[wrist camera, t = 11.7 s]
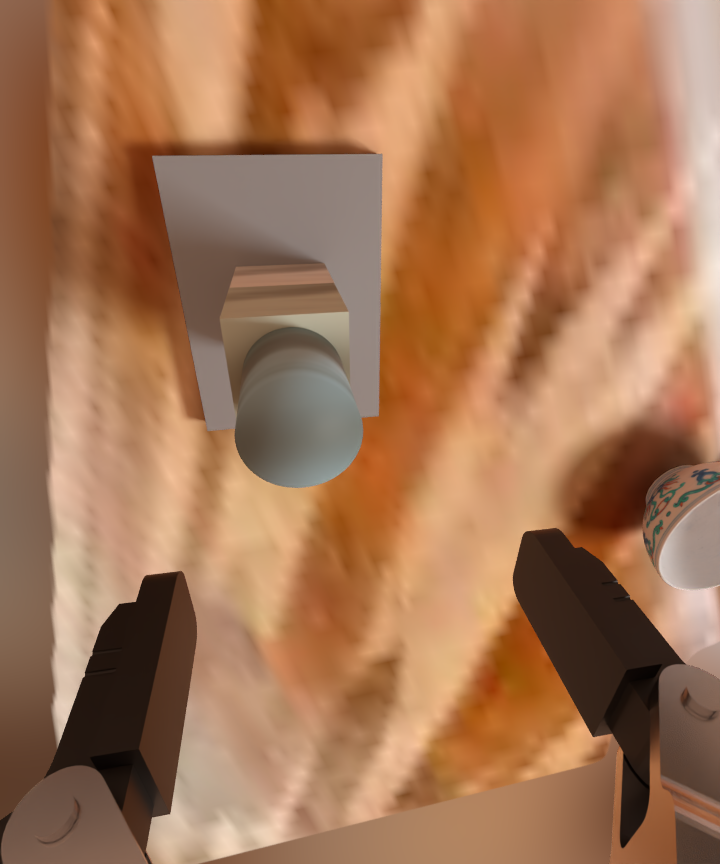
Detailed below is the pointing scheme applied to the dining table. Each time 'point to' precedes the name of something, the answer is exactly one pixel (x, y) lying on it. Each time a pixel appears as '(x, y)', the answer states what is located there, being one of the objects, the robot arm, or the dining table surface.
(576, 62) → the dining table surface
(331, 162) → the tower board
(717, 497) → the chinaware
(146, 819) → the robot arm
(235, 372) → the top block
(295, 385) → the cylinder
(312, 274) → the base block
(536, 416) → the dining table surface
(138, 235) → the dining table surface
